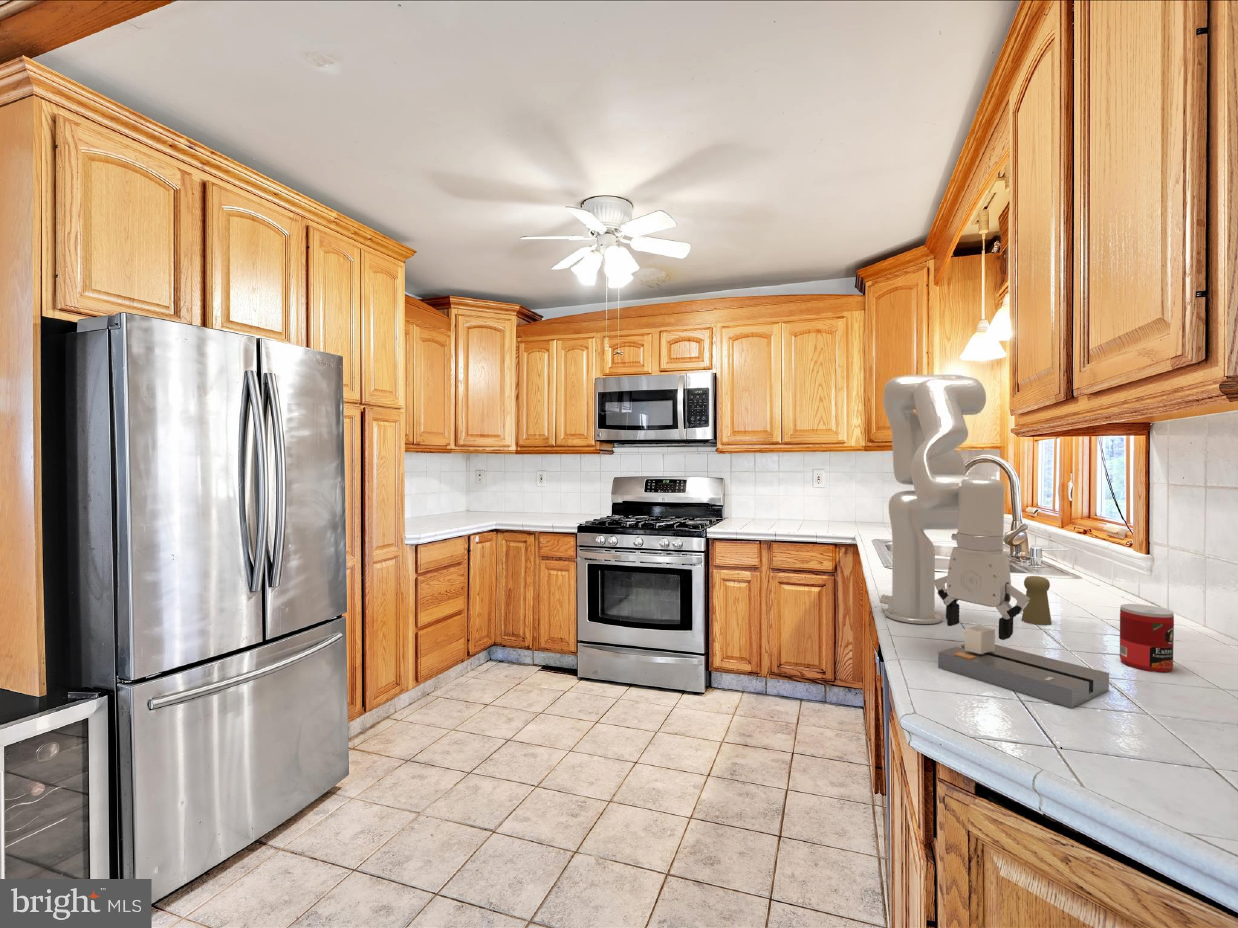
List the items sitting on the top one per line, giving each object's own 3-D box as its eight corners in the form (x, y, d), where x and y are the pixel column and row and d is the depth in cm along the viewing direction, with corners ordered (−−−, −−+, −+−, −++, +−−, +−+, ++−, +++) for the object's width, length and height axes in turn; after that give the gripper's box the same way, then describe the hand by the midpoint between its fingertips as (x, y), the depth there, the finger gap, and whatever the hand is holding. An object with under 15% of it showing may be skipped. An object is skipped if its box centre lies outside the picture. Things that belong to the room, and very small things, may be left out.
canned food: (1159, 675, 112) (1160, 615, 112) (1110, 661, 120) (1110, 605, 119) (1182, 669, 115) (1183, 611, 115) (1132, 656, 123) (1133, 602, 123)
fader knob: (964, 660, 117) (964, 629, 117) (978, 655, 119) (978, 625, 119) (980, 664, 114) (981, 633, 114) (994, 660, 117) (995, 628, 117)
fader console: (938, 667, 116) (938, 650, 116) (977, 654, 124) (977, 639, 124) (1071, 708, 98) (1072, 688, 98) (1108, 690, 105) (1109, 671, 105)
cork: (1056, 625, 144) (1057, 579, 144) (1028, 624, 146) (1028, 578, 146) (1044, 619, 150) (1044, 574, 150) (1017, 617, 152) (1017, 573, 151)
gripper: (925, 538, 122) (923, 623, 123) (1019, 552, 107) (1016, 648, 108) (946, 535, 126) (944, 617, 127) (1039, 547, 111) (1037, 640, 112)
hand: (978, 631), depth 117 cm, fingers open, 9 cm apart
